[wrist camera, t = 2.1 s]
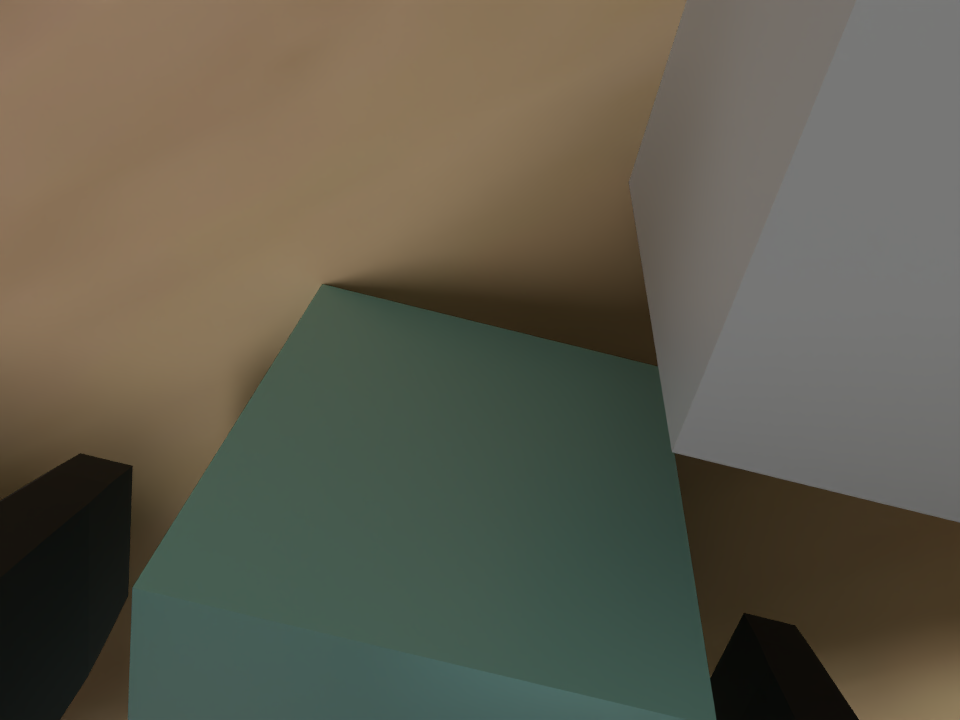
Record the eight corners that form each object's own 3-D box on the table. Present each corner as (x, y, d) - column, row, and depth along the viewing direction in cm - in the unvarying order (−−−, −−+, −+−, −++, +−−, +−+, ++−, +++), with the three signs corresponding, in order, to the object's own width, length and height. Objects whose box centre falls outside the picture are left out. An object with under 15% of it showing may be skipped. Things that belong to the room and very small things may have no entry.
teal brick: (532, 702, 13) (507, 1111, 9) (271, 640, 13) (118, 1021, 9) (659, 364, 10) (717, 727, 6) (324, 281, 10) (133, 588, 6)
